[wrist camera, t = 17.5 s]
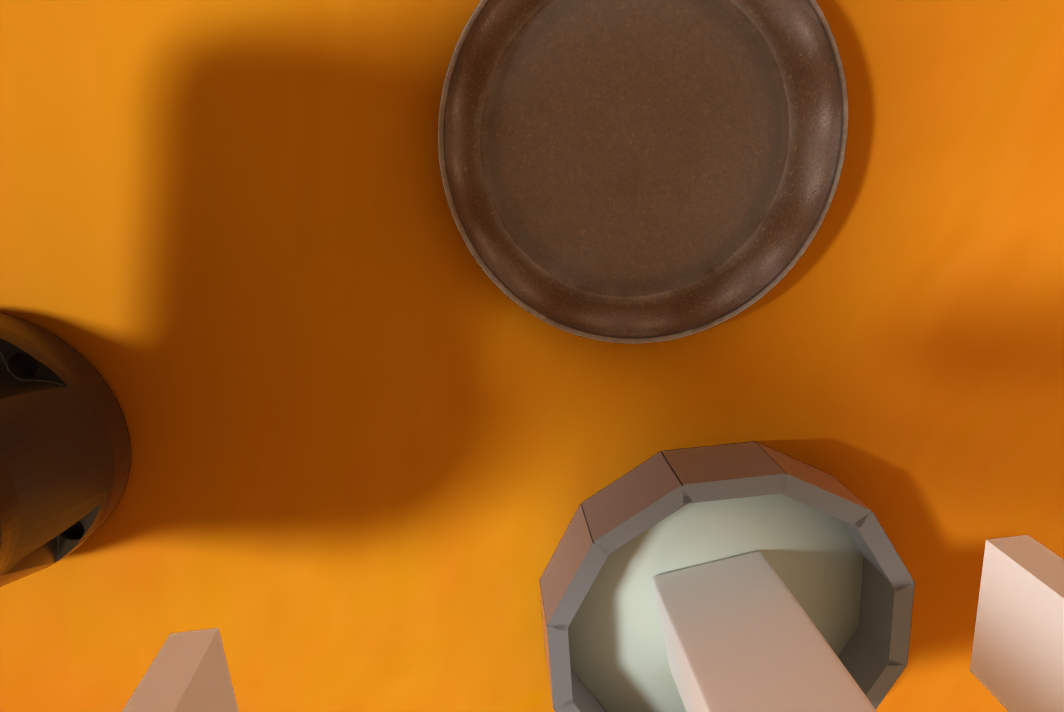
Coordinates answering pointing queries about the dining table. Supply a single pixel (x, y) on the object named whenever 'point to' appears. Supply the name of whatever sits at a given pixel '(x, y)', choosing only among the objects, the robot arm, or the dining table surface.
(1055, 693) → the robot arm
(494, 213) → the plant saucer
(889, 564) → the bowl
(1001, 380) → the dining table surface
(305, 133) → the dining table surface
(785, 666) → the milk carton
